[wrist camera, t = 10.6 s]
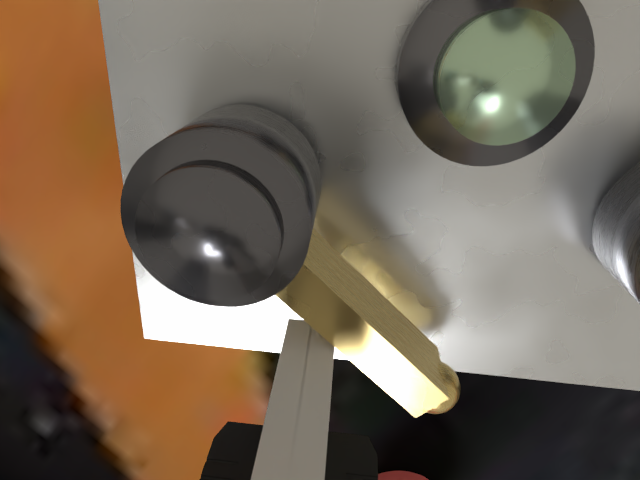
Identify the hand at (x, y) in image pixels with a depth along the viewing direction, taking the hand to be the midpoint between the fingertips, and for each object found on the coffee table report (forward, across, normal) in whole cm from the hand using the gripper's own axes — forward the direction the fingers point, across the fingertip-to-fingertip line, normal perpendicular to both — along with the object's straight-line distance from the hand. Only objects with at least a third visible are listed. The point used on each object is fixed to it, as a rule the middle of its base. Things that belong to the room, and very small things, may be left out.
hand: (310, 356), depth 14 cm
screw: (+1, 0, +3) cm, 3 cm away
